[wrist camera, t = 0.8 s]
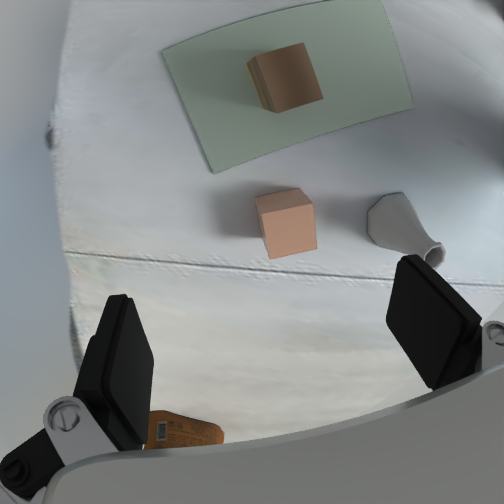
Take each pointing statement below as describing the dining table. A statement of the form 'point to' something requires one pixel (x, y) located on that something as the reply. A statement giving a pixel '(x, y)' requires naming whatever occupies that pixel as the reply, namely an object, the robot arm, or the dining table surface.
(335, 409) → the dining table surface
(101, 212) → the dining table surface
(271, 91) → the walnut block
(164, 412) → the pancake mix bag
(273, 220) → the terracotta block
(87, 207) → the dining table surface
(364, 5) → the rubber mat
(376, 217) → the flask
